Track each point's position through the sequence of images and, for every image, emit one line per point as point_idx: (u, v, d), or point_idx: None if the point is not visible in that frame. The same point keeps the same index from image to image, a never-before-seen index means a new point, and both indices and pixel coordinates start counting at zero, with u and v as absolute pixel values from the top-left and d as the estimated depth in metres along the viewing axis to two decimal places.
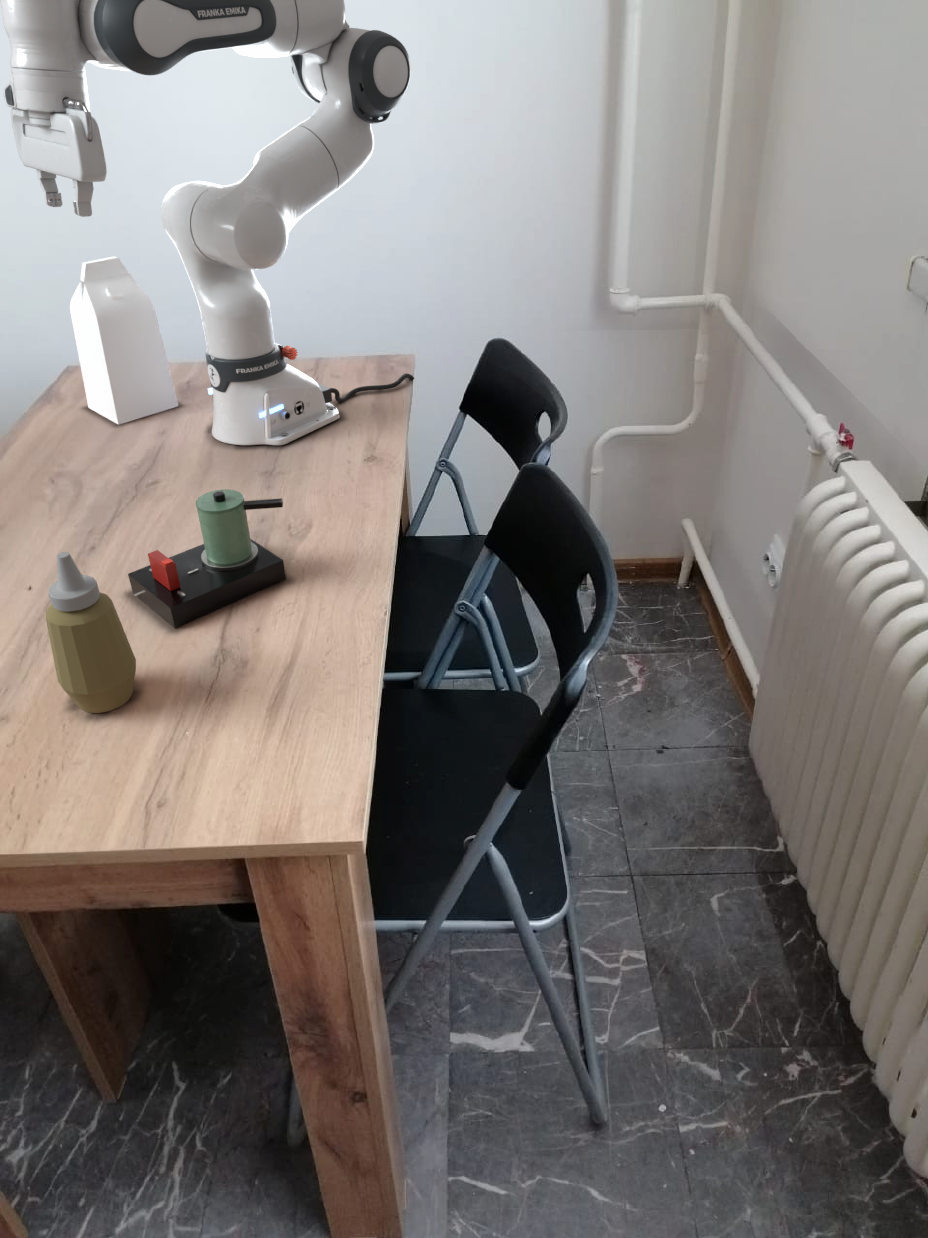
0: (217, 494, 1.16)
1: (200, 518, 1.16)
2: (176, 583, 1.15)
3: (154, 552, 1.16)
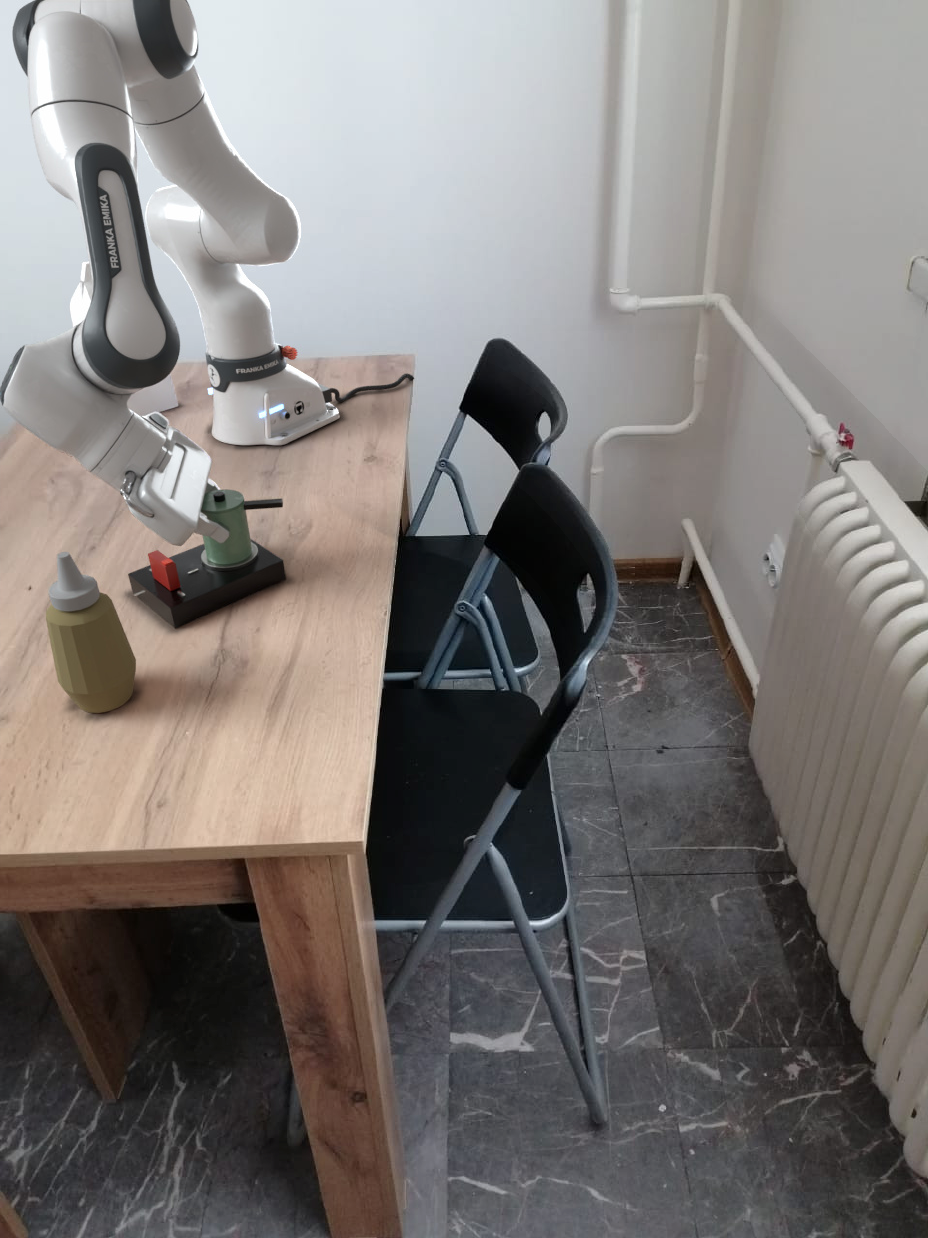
0: (217, 494, 1.16)
1: None
2: (176, 583, 1.15)
3: (154, 552, 1.16)
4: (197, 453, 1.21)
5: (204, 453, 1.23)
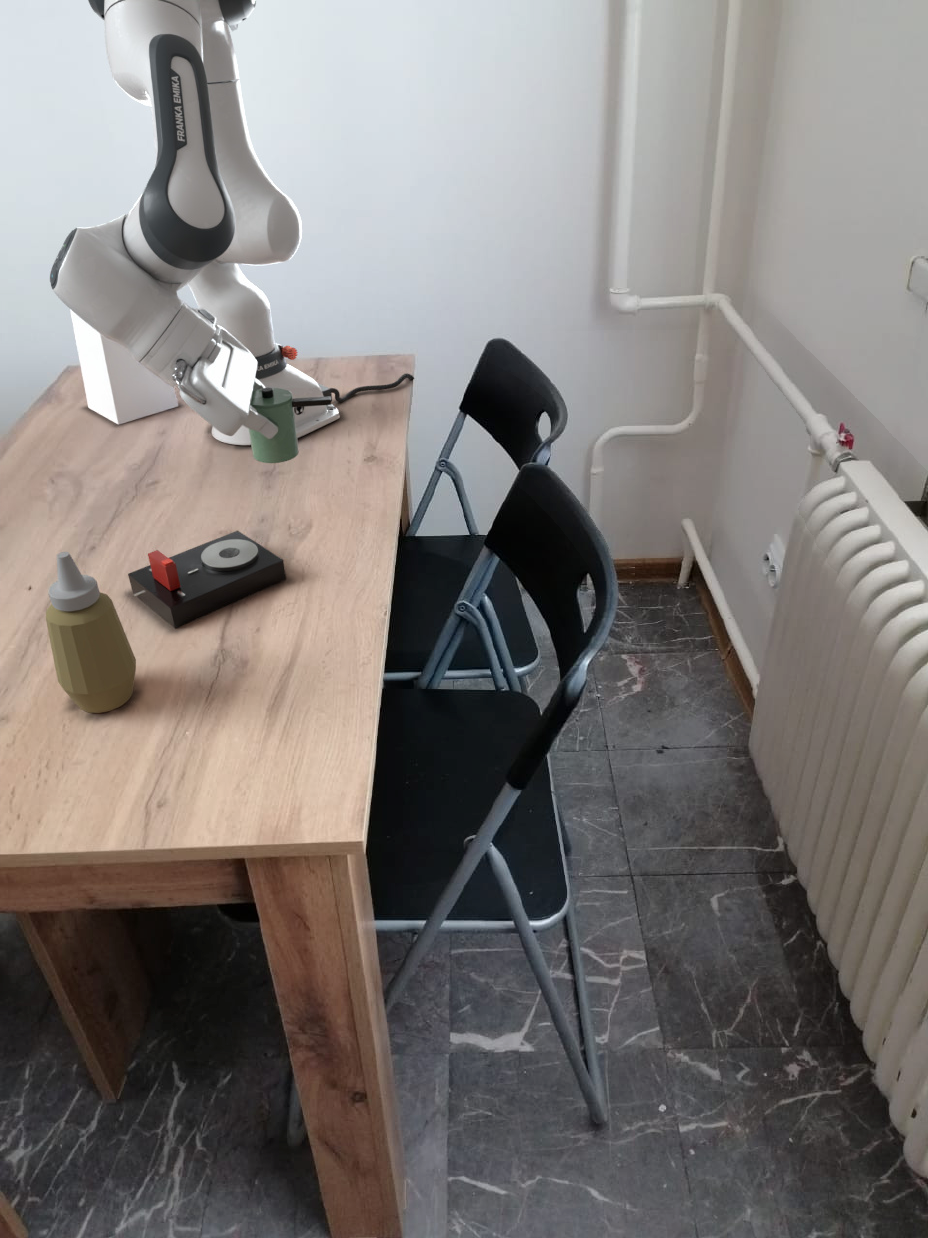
0: (265, 390, 1.15)
1: None
2: (176, 583, 1.15)
3: (154, 552, 1.16)
4: (243, 353, 1.20)
5: (250, 354, 1.21)
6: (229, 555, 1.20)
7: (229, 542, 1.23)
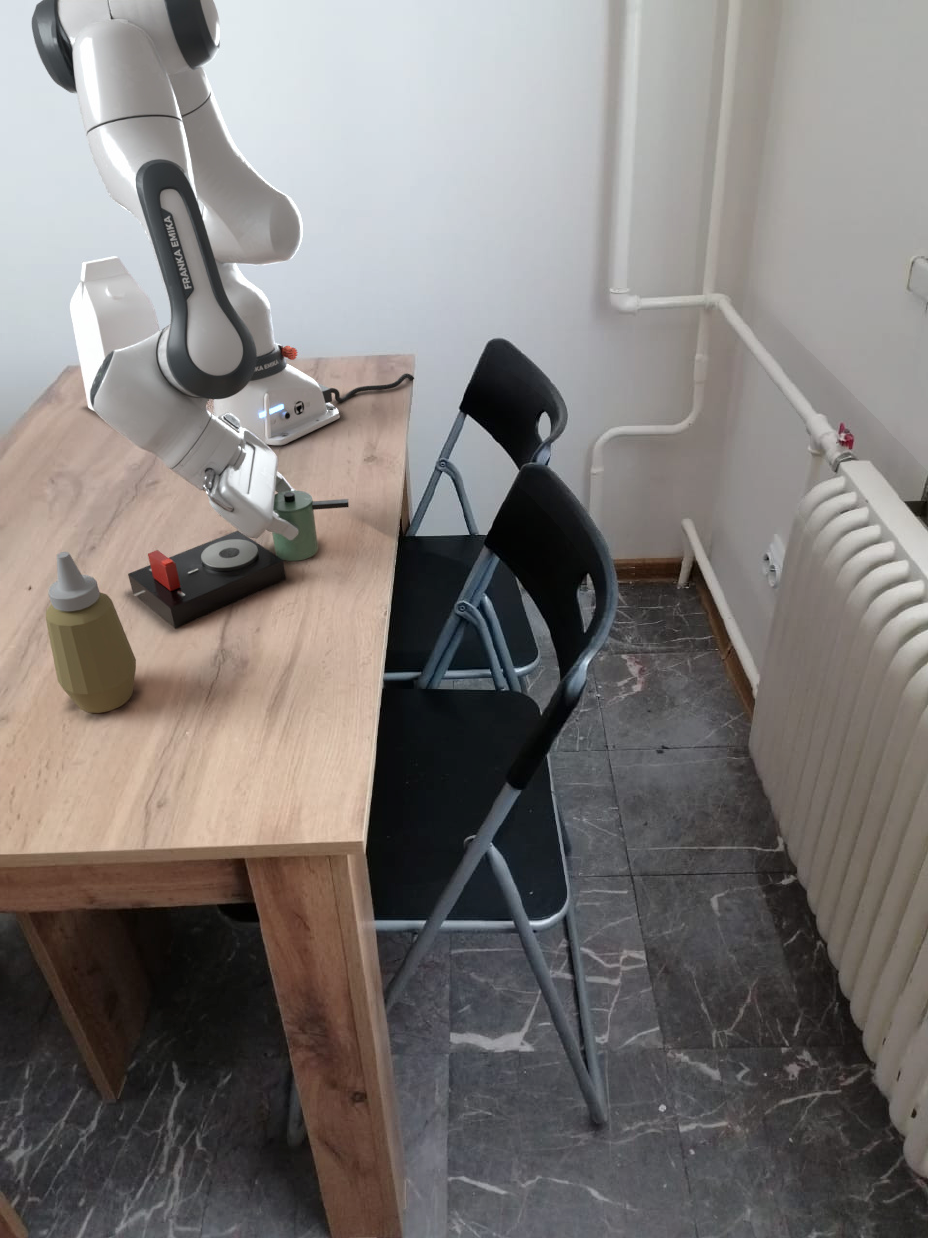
0: (288, 495, 1.24)
1: None
2: (176, 583, 1.15)
3: (154, 552, 1.16)
4: (265, 451, 1.28)
5: (271, 451, 1.30)
6: (229, 555, 1.20)
7: (229, 542, 1.23)
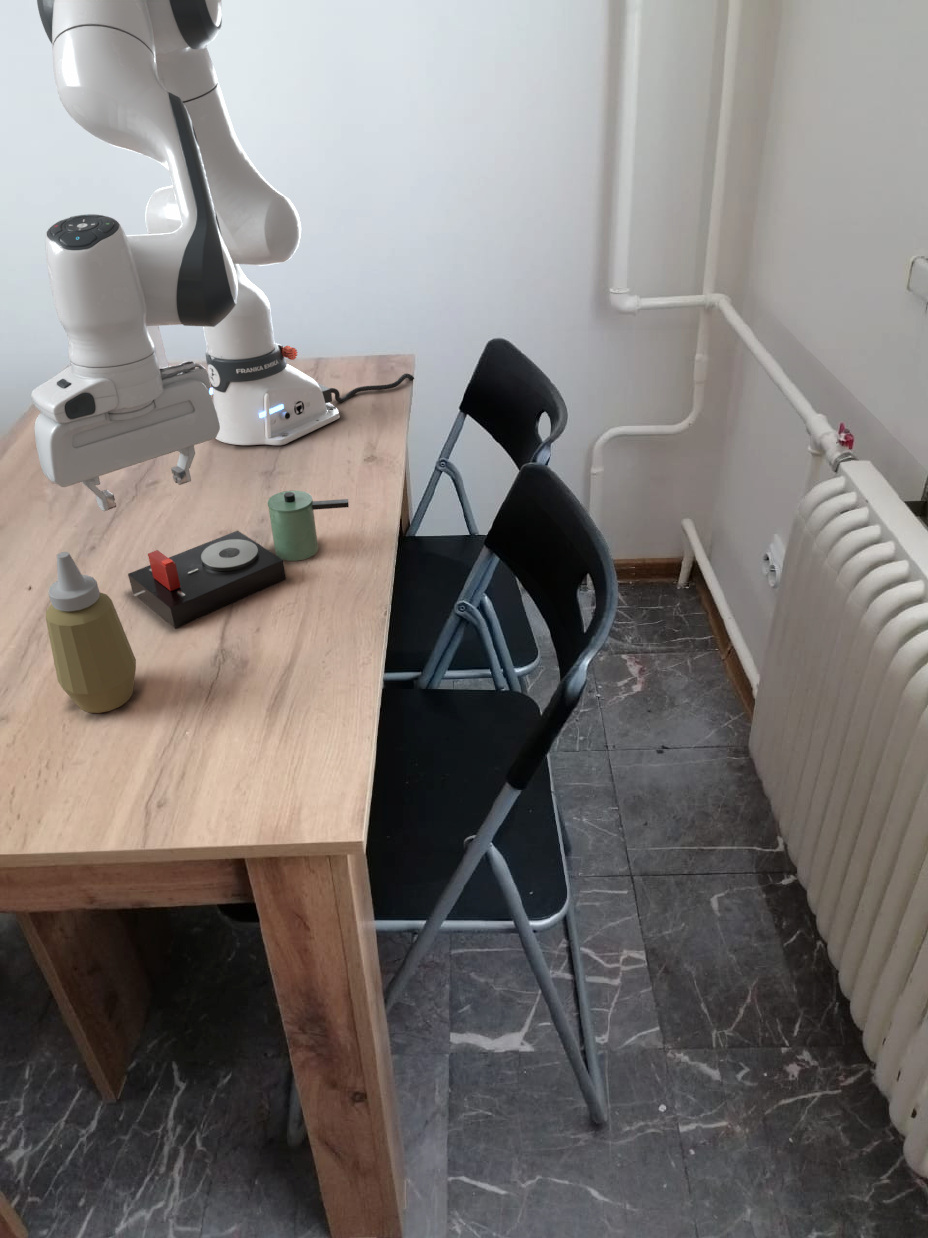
0: (288, 495, 1.24)
1: (272, 517, 1.24)
2: (176, 583, 1.15)
3: (154, 552, 1.16)
4: None
5: None
6: (229, 555, 1.20)
7: (229, 542, 1.23)
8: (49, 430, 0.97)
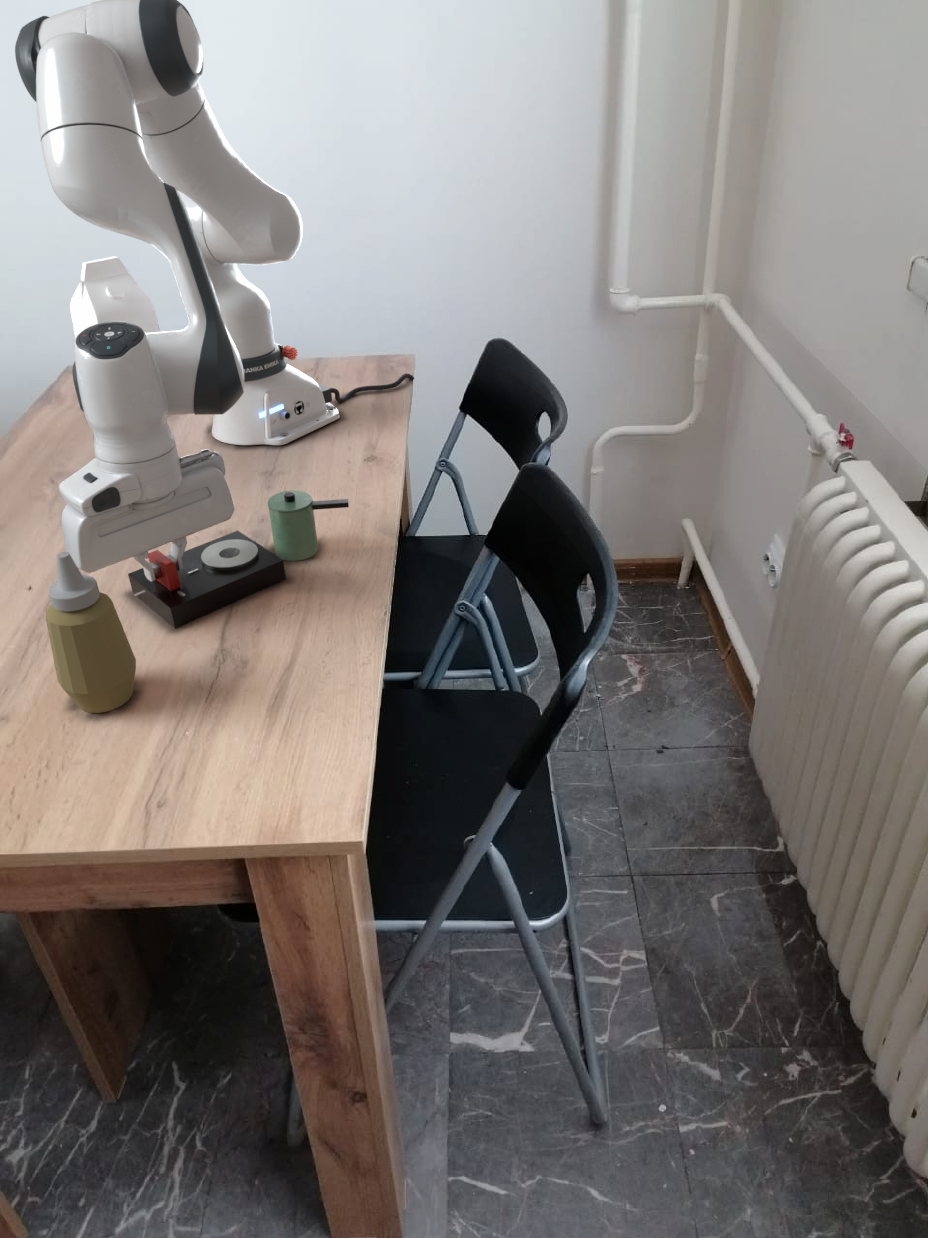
0: (288, 495, 1.24)
1: (272, 517, 1.24)
2: (176, 583, 1.15)
3: (154, 552, 1.16)
4: None
5: None
6: (229, 555, 1.20)
7: (229, 542, 1.23)
8: (77, 522, 1.03)
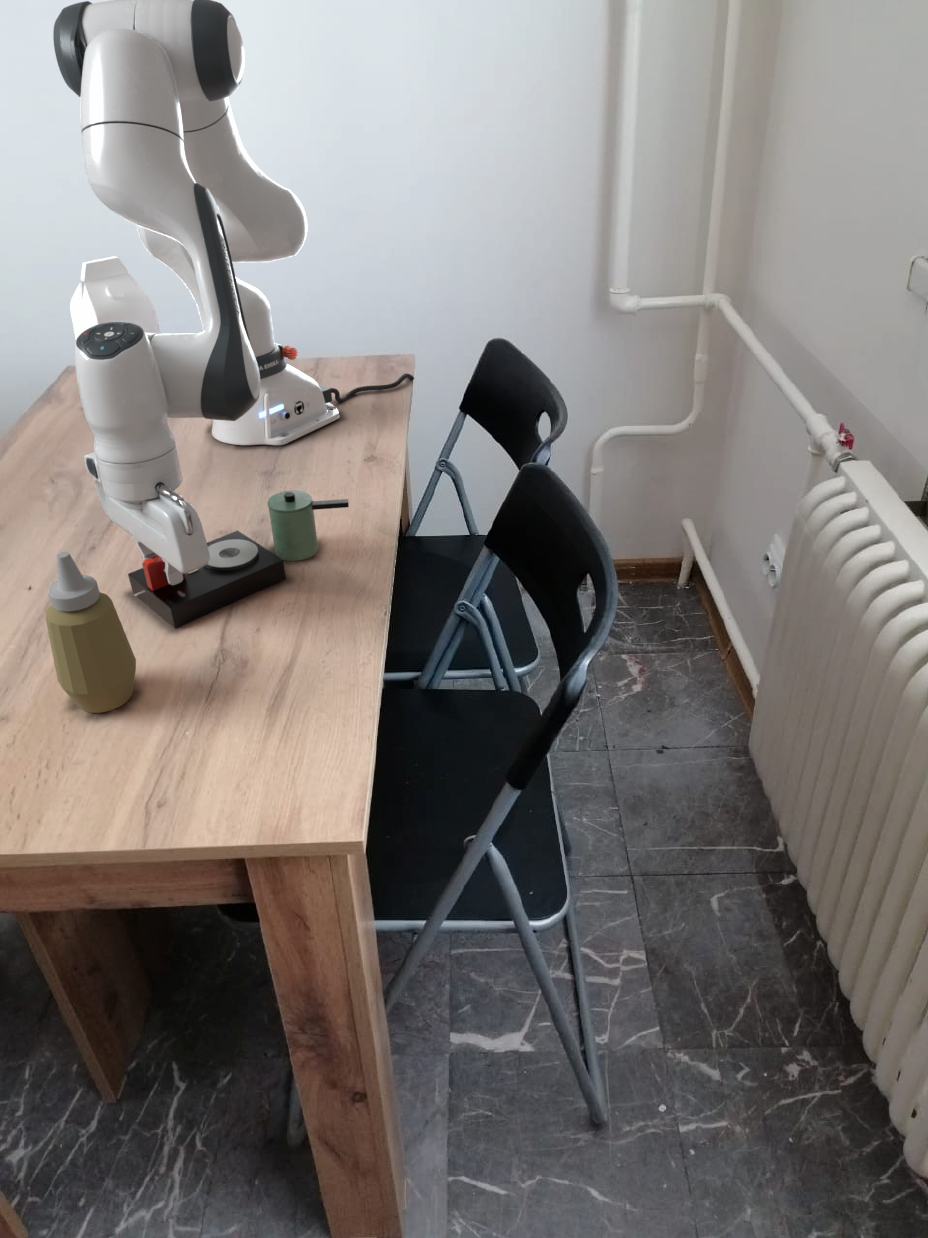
0: (288, 495, 1.24)
1: (272, 517, 1.24)
2: (149, 584, 1.14)
3: None
4: None
5: None
6: (229, 555, 1.20)
7: (229, 542, 1.23)
8: None
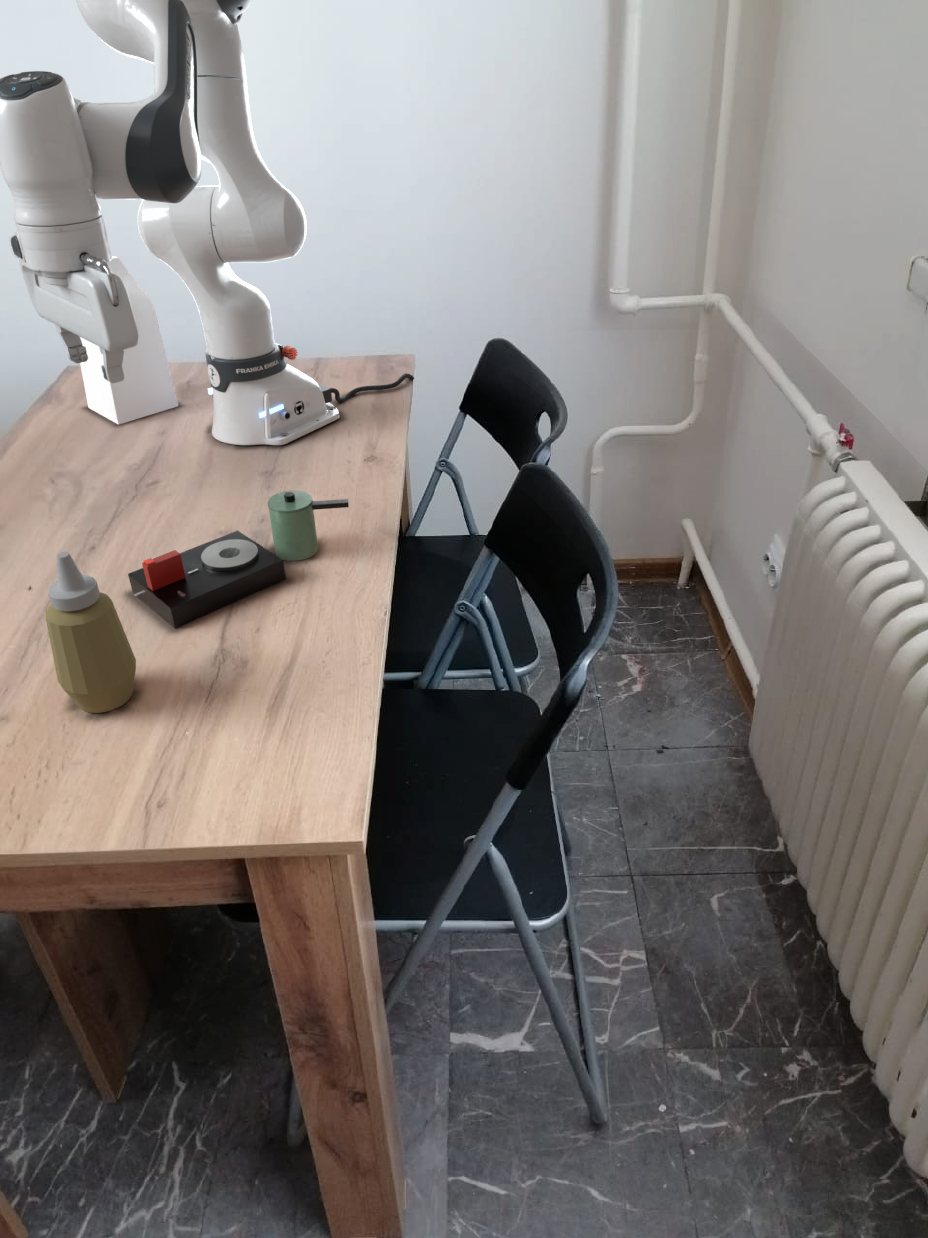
0: (288, 495, 1.24)
1: (272, 517, 1.24)
2: (149, 584, 1.14)
3: (176, 552, 1.15)
4: None
5: None
6: (229, 555, 1.20)
7: (229, 542, 1.23)
8: None
